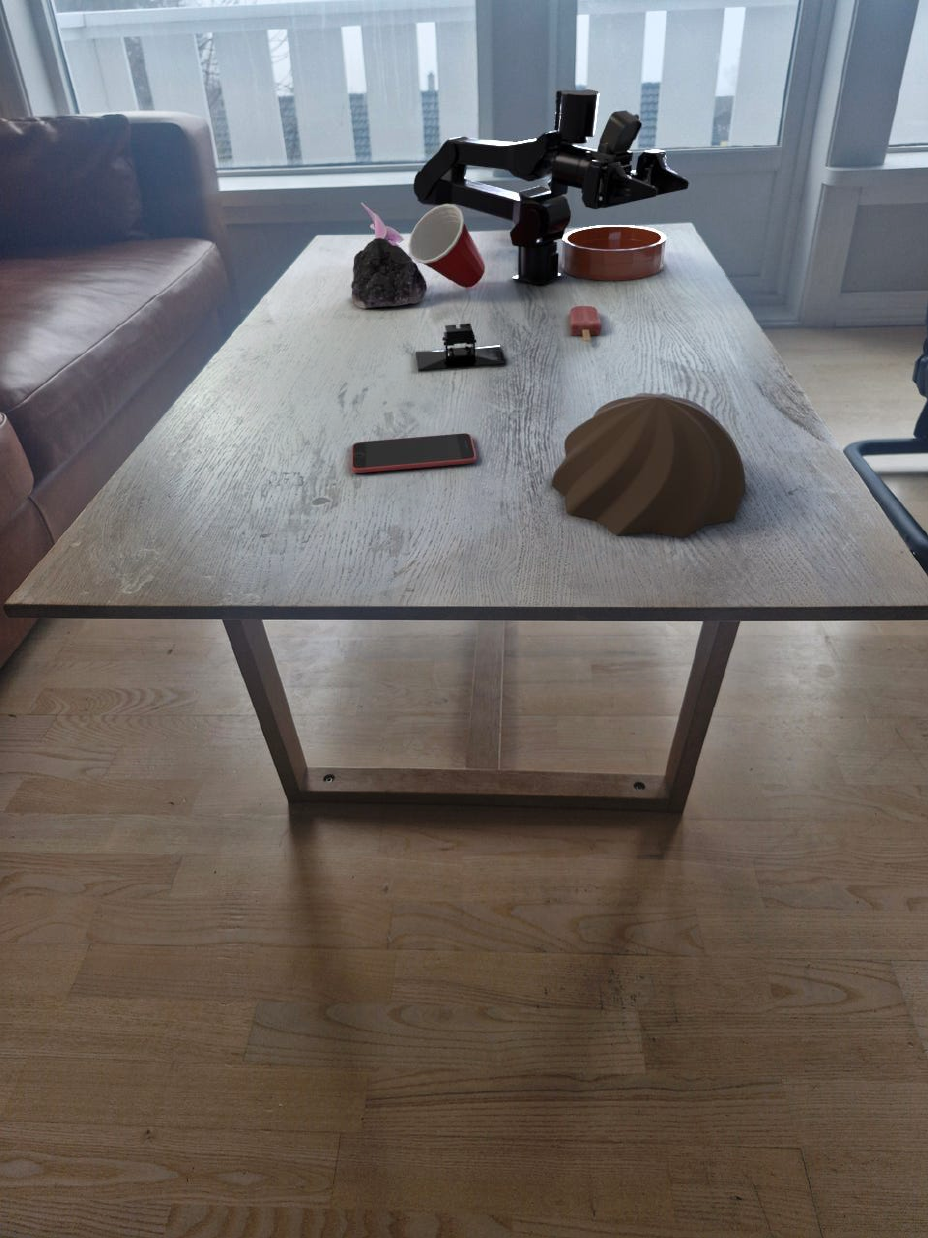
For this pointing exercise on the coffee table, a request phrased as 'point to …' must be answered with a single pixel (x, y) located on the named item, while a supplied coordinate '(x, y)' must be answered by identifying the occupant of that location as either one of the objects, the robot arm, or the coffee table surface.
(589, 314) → the popsicle
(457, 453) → the smartphone
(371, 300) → the crystal cluster
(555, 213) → the robot arm
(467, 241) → the plastic cup
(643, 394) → the decorative dome
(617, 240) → the bowl
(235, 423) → the coffee table surface
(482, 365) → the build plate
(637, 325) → the coffee table surface
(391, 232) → the lily
